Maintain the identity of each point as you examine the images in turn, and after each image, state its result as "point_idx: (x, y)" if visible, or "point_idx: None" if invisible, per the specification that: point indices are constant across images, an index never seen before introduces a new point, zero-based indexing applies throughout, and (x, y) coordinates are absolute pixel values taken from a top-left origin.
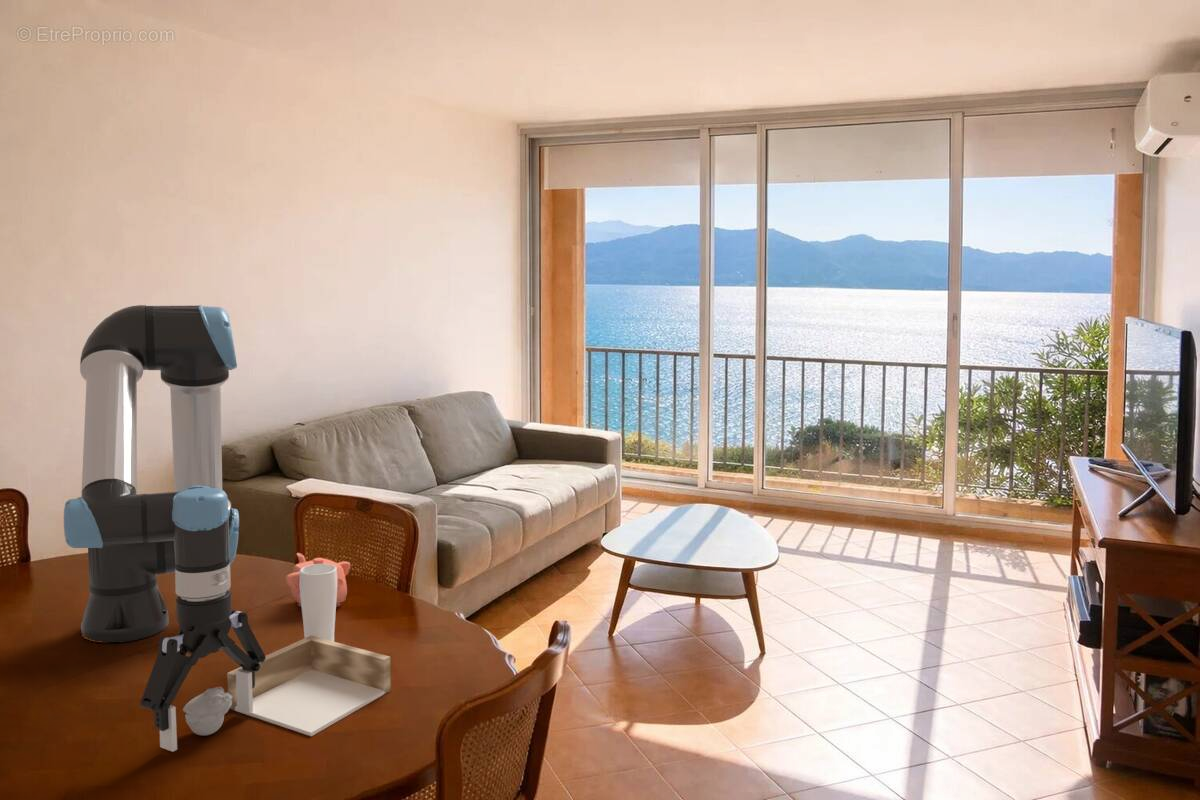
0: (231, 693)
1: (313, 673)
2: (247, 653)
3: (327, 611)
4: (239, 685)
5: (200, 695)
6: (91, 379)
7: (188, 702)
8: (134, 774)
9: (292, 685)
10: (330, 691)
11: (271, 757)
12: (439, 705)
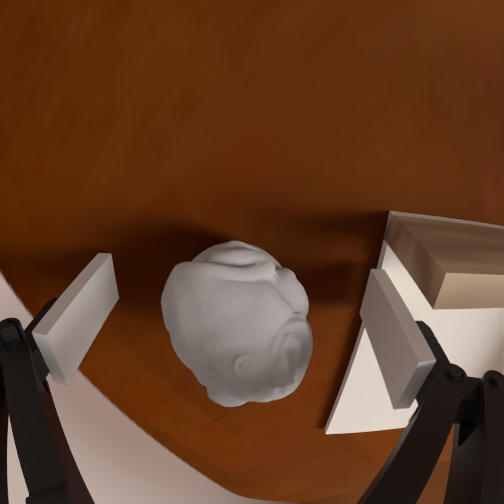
0: (406, 251)
1: None
2: (480, 406)
3: None
4: (392, 335)
5: (211, 346)
6: None
7: (188, 290)
8: (38, 268)
9: None
10: (486, 361)
11: (233, 422)
12: (446, 456)
